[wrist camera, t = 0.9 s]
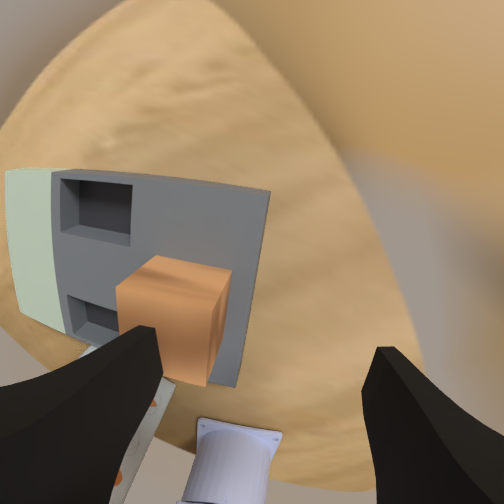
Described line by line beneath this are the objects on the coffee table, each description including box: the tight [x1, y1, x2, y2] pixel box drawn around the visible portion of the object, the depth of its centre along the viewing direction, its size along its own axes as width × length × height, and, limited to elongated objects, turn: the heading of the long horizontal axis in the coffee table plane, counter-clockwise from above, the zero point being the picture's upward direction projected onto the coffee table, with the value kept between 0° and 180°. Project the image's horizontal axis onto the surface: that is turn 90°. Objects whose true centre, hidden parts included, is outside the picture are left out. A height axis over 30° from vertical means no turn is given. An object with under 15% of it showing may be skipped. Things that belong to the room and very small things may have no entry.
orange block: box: [116, 255, 232, 387], centre depth 14 cm, size 4×4×4 cm
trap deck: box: [5, 168, 271, 388], centre depth 18 cm, size 13×21×2 cm, turn 81°
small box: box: [78, 345, 176, 504], centre depth 17 cm, size 8×6×13 cm
